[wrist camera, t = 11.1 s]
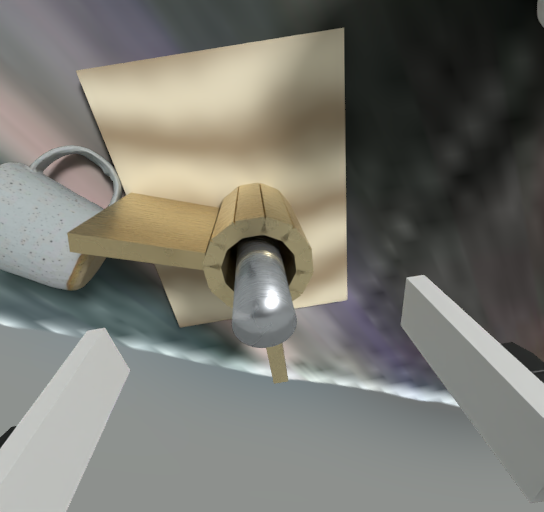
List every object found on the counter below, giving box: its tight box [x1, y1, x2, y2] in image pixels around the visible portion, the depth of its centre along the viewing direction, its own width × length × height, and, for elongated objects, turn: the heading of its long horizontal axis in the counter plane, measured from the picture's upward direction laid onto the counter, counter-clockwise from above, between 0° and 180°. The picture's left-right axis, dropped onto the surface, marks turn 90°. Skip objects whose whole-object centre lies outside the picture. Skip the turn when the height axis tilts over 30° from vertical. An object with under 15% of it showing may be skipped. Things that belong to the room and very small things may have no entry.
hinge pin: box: [232, 235, 297, 348], centre depth 18 cm, size 3×3×14 cm
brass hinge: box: [67, 182, 314, 383], centre depth 22 cm, size 15×14×9 cm
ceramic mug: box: [0, 145, 122, 290], centre depth 20 cm, size 11×8×8 cm
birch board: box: [76, 28, 347, 327], centre depth 25 cm, size 24×19×1 cm
